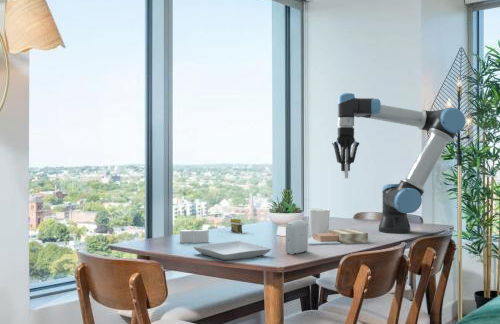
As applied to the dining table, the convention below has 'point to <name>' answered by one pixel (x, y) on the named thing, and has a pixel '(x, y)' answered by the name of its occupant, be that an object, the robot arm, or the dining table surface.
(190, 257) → the dining table surface
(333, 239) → the terracotta tile
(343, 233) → the birch board
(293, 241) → the white upright block
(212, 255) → the salad plate
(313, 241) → the rubber mat
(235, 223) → the brown and yellow container
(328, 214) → the candle holder
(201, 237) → the napkin holder
